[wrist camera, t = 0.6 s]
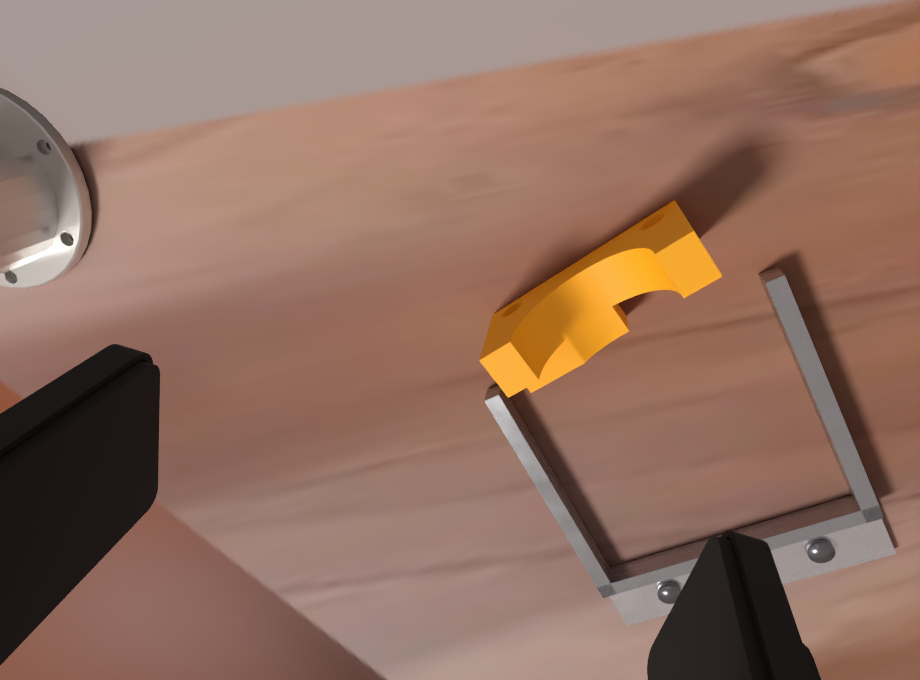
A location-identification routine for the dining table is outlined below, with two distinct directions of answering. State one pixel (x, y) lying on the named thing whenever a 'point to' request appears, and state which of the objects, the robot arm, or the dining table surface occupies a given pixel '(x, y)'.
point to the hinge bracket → (789, 536)
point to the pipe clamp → (592, 301)
